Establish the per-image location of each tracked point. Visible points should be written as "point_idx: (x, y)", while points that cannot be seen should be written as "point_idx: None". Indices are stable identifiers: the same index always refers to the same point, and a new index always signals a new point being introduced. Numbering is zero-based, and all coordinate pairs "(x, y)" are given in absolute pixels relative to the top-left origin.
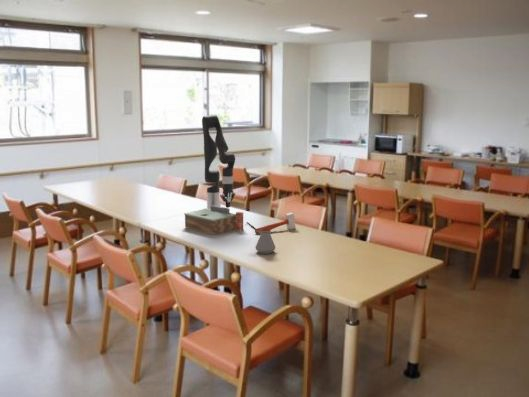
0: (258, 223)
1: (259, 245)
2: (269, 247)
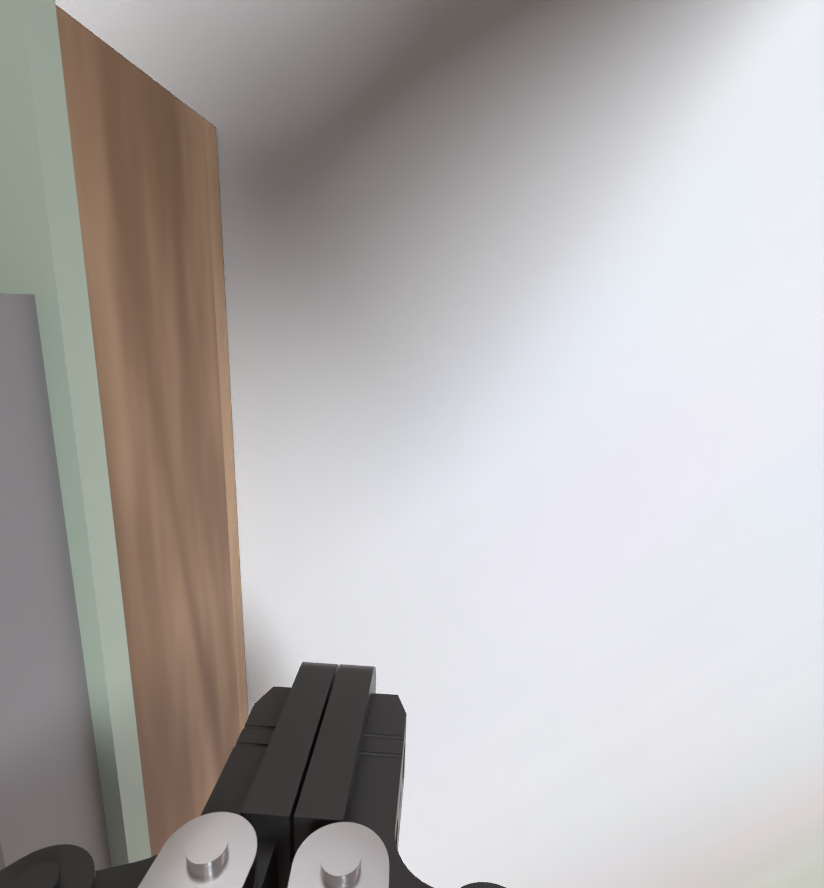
0: (713, 823)
1: None
2: None
